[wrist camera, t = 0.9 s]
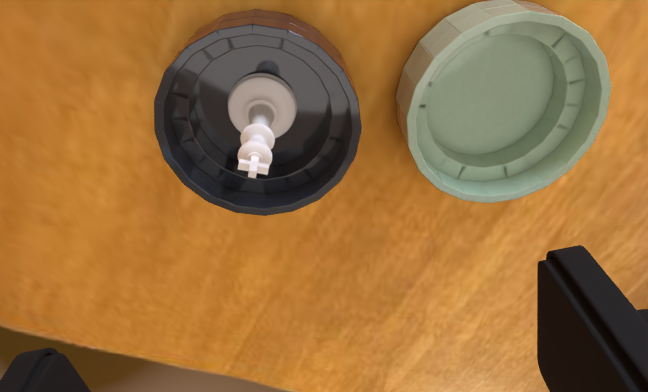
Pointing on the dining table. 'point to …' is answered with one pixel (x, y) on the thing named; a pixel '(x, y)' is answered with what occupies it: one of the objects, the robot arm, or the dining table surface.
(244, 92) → the chess piece
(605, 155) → the dining table surface
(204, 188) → the dark bowl
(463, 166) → the green bowl
